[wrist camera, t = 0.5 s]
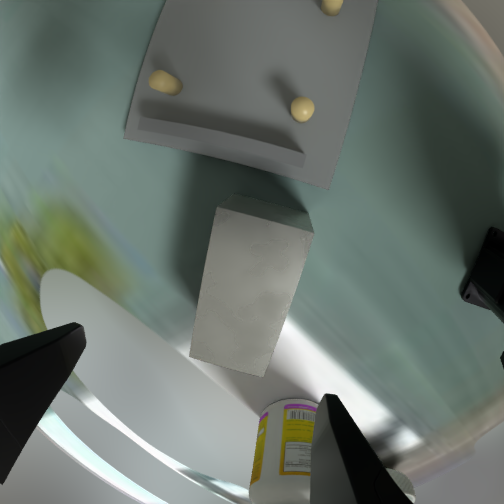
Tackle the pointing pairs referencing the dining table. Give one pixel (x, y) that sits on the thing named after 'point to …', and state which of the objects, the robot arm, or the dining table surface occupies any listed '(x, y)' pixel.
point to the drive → (249, 282)
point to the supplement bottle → (283, 453)
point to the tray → (254, 82)
